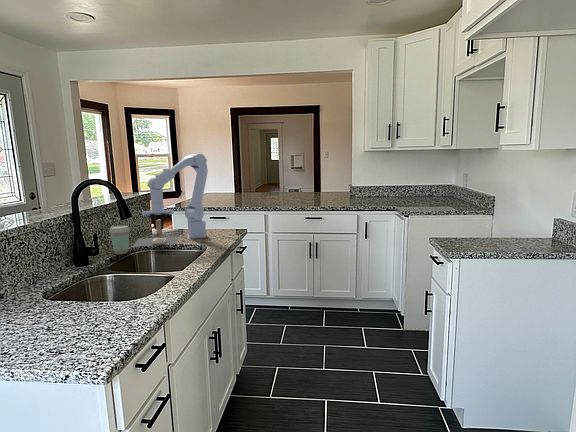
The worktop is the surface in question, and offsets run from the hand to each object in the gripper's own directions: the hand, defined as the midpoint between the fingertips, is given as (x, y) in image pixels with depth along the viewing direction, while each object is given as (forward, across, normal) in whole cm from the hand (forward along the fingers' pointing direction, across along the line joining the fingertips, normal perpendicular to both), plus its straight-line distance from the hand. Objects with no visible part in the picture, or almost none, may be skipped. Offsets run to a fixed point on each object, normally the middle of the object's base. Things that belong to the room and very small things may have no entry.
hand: (159, 229), depth 191 cm
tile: (+6, 0, +2) cm, 6 cm away
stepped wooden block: (+3, 0, 0) cm, 3 cm away
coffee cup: (+7, -15, -16) cm, 23 cm away
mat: (+7, -2, +2) cm, 8 cm away
